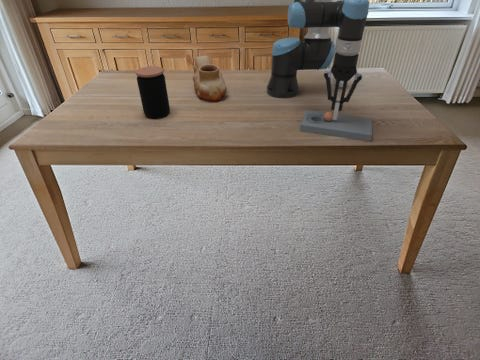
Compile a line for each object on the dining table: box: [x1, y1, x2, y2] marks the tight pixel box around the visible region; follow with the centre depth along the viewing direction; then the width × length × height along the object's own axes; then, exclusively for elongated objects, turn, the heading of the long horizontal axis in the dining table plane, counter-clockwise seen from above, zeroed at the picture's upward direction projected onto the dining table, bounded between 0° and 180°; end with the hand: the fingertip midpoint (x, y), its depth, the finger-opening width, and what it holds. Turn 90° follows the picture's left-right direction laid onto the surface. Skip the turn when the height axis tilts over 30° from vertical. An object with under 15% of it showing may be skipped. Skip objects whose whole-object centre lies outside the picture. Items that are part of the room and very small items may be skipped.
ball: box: [324, 111, 333, 121], centre depth 115 cm, size 3×3×3 cm
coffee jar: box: [134, 65, 171, 120], centre depth 123 cm, size 11×11×18 cm
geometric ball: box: [333, 77, 351, 89], centre depth 149 cm, size 8×8×8 cm
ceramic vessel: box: [192, 55, 228, 103], centre depth 143 cm, size 14×26×15 cm, turn 19°
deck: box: [299, 109, 373, 142], centre depth 116 cm, size 25×14×2 cm, turn 71°
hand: (334, 118), depth 115 cm, fingers closed
